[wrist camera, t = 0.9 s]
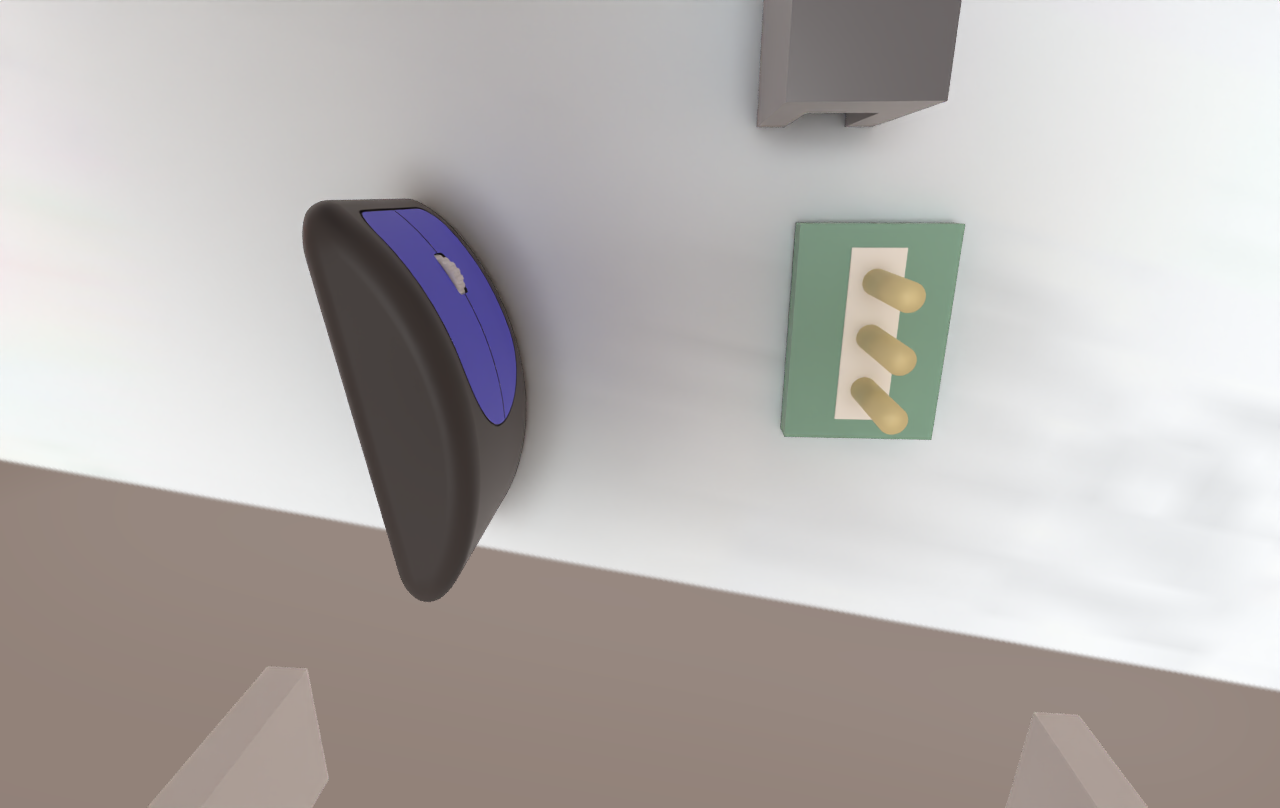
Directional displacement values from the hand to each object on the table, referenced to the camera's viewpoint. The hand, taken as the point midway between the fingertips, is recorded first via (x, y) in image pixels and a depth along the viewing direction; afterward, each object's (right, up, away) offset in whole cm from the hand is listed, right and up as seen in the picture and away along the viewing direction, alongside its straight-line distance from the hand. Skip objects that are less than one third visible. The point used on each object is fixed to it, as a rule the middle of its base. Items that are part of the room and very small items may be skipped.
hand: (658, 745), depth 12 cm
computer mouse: (-10, +8, +20) cm, 24 cm away
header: (+10, +10, +18) cm, 23 cm away
